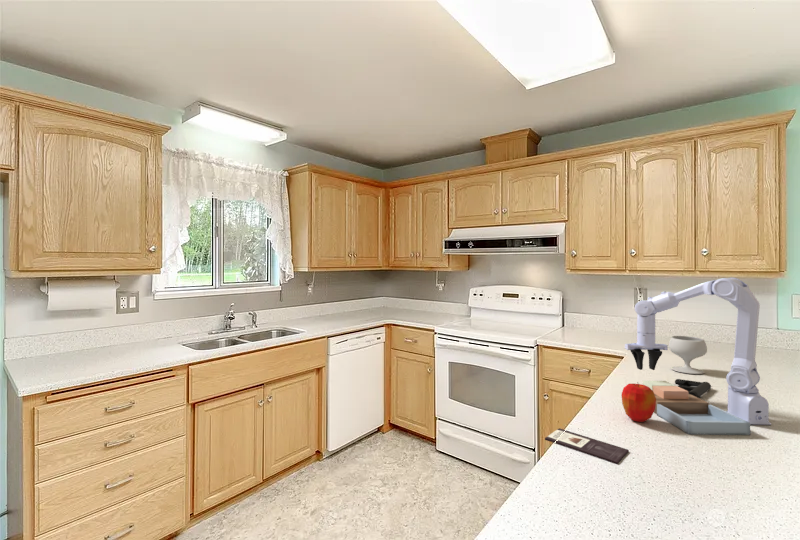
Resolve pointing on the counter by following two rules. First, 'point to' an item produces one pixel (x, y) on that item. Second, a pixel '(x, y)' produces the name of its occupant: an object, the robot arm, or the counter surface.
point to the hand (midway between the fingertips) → (645, 369)
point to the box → (706, 422)
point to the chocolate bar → (588, 445)
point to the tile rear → (656, 384)
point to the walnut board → (684, 405)
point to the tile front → (670, 392)
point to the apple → (638, 402)
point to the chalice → (687, 352)
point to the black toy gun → (694, 387)
